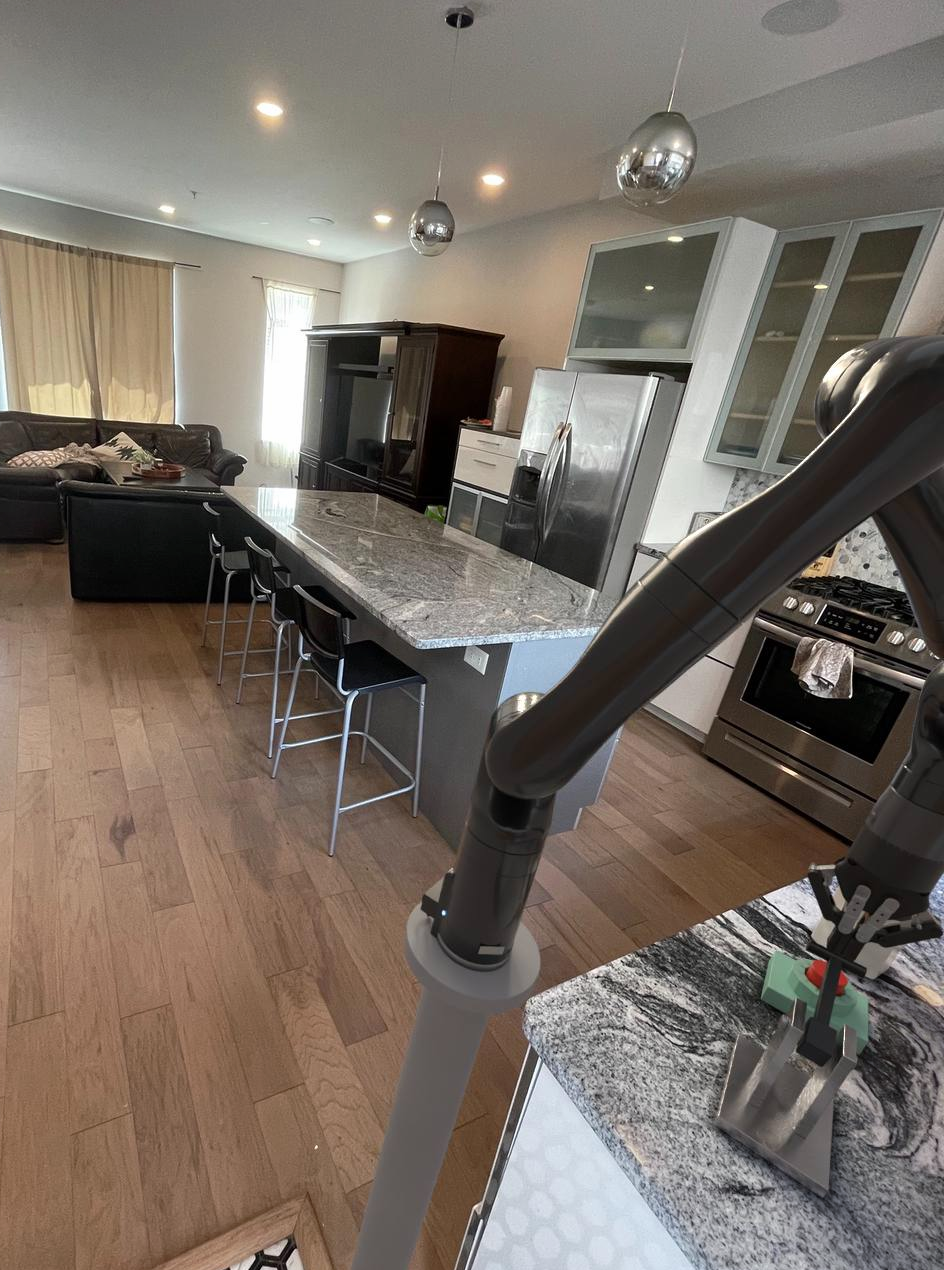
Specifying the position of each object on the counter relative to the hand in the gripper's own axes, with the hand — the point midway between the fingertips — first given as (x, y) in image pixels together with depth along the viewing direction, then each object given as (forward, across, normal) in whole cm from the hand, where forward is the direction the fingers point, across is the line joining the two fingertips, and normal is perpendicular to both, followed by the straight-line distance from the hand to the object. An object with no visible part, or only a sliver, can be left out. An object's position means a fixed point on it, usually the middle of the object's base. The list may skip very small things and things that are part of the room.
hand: (836, 956), depth 73 cm
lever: (-3, +2, +14) cm, 15 cm away
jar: (+8, -4, -15) cm, 17 cm away
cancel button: (+4, 0, 0) cm, 4 cm away
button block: (+8, 0, 0) cm, 8 cm away
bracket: (+8, +2, +19) cm, 21 cm away
